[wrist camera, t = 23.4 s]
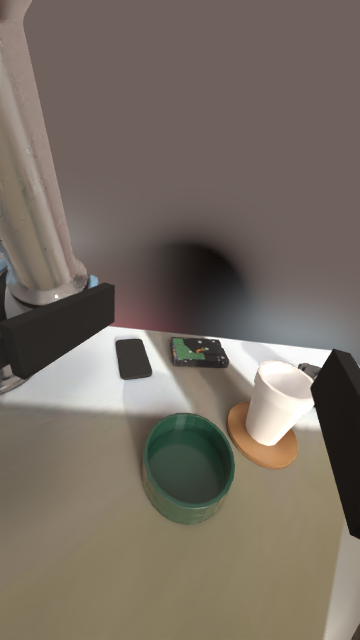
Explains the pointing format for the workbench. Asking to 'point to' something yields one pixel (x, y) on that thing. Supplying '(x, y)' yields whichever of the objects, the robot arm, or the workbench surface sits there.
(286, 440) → the pot holder
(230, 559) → the workbench surface
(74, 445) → the workbench surface
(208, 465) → the pot
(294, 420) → the foam cup
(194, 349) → the disk drive
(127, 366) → the phone
